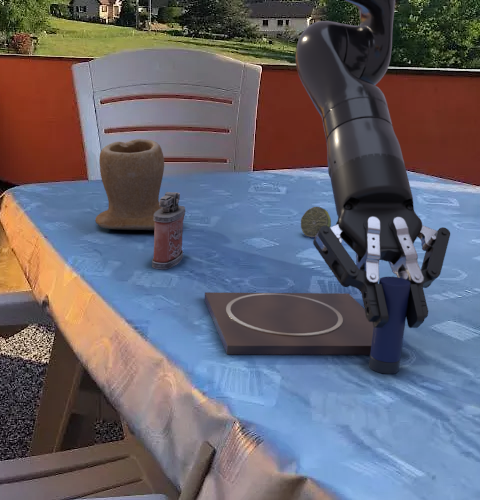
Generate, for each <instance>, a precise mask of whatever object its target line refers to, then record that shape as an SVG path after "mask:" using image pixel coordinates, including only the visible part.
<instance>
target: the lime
mask: <svg viewBox="0 0 480 500" xmlns="http://www.w3.org/2000/svg"><path fill="white" fill-rule="evenodd" d="M322 226H328V227H332V220H331V216H330V214H329V212H328V211H327V210H326V209H325V208H323V207H320V206H313V207H311V208H309V209H307V210H306V211H305V212H304V214H303V215H302V216H301V219H300V229H301V231H302V233H303V234H304V236H306V237H308V238H315V237H316V235H317V233H318V231H319V230H320V228H321V227H322Z"/></svg>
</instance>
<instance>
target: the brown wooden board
mask: <svg viewBox="0 0 480 500" xmlns="http://www.w3.org/2000/svg"><path fill="white" fill-rule="evenodd" d="M203 300H204V302H205V305H206V307H207V309H208V312H209V314H210V317H211V319H212V322H213V324H214V326H215V329H216V331H217V333H218V337H219V339H220V341H221V343H222V345H223V348H224V350H225V353H226V355H263V356H265V355H267V356H268V355H269V356H270V355H272V356H273V355H277V356H278V355H283V356H284V355H285V356H286V355H288V356H289V355H290V356H291V355H294V356H295V355H296V356H297V355H300V356H301V355H303V356H304V355H305V356H306V355H307V356H308V355H310V356H312V355H317V356H318V355H320V356H322V355H323V356H324V355H325V356H333V355H335V356H336V355H337V356H340V355H341V356H343V355H344V356H349V355H350V356H352V355H353V356H370V352H371V344H372V336H373V327H374V326H373V322H369V321H368V319H367V318H366V314H365V309H364V306H362V305H361V303H359V302H358V301H357V300H356V299H355V298H354V296H352V295H351V294H350V293H348V292H346V293H342V292H337V293H335V292H331V293H329V292H326V293H325V292H215V291H214V292H213V291H212V292H211V291H210V292H209V291H207V292H206V291H205V292H204V299H203Z"/></svg>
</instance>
